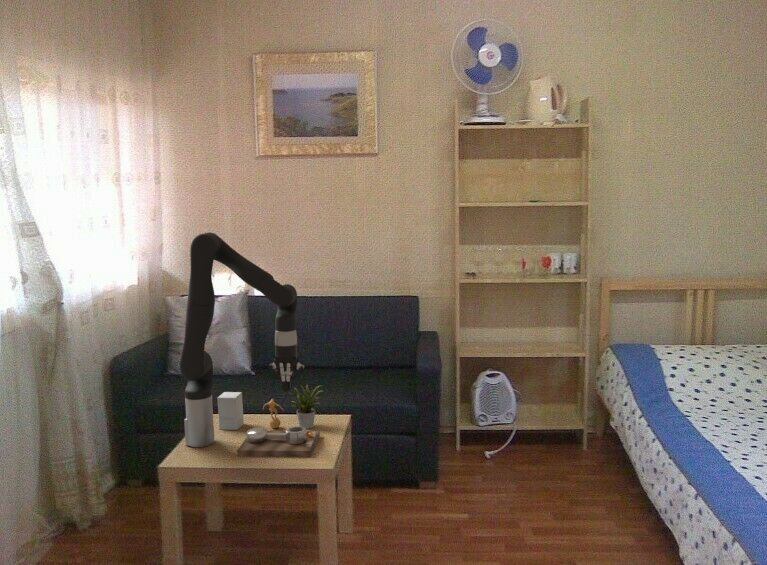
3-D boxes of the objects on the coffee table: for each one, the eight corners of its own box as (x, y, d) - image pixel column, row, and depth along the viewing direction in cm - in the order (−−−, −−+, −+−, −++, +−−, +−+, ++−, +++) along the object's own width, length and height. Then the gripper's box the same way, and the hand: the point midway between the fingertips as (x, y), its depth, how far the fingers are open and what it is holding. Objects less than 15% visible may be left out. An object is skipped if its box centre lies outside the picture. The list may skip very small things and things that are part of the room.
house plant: (334, 421, 273) (332, 380, 271) (321, 434, 260) (320, 391, 257) (299, 419, 277) (298, 378, 274) (285, 431, 264) (283, 388, 261)
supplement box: (244, 423, 273) (242, 391, 271) (237, 430, 266) (235, 397, 264) (226, 423, 274) (224, 391, 272) (218, 429, 267) (216, 397, 265)
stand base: (237, 455, 241) (236, 446, 240) (252, 435, 259) (251, 427, 259) (310, 456, 239) (309, 447, 238) (319, 436, 257) (319, 427, 257)
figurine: (287, 426, 268) (286, 396, 267) (282, 432, 263) (281, 400, 261) (266, 425, 270) (265, 395, 268) (261, 431, 264) (259, 400, 262)
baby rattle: (244, 442, 246) (243, 431, 246) (250, 435, 253) (250, 424, 253) (311, 444, 243) (310, 433, 243) (315, 437, 250) (315, 426, 250)
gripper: (264, 344, 242) (265, 393, 244) (302, 345, 241) (303, 395, 243) (269, 339, 249) (270, 387, 252) (307, 340, 248) (307, 388, 250)
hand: (286, 391), depth 247 cm, fingers closed
